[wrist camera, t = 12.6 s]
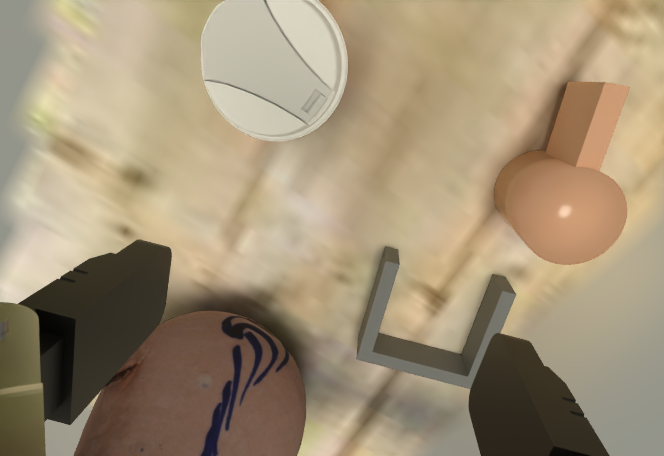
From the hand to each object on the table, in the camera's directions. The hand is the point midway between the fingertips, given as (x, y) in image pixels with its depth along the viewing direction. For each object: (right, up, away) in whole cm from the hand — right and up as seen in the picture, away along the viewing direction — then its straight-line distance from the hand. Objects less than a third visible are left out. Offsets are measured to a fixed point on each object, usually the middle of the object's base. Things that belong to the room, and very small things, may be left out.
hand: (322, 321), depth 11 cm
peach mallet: (+18, +8, +27) cm, 34 cm away
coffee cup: (-2, +16, +27) cm, 31 cm away
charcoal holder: (+10, -5, +33) cm, 34 cm away
